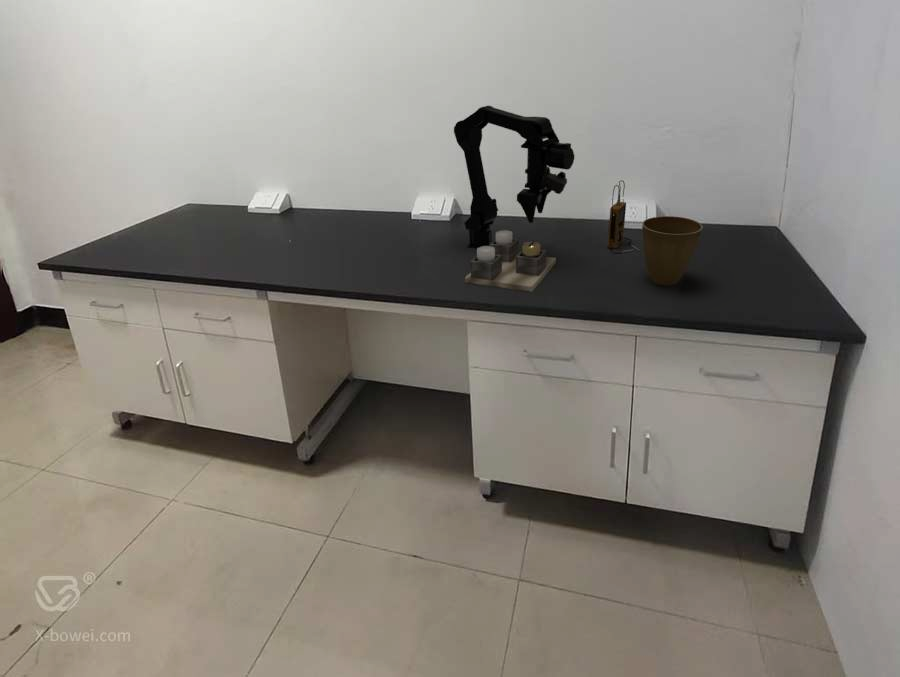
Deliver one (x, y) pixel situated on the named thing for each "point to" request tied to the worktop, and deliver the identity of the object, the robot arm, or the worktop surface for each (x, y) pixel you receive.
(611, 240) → the multimeter
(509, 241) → the knob back
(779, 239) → the worktop surface
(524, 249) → the brass dial
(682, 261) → the plant pot
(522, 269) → the mount
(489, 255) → the knob front
